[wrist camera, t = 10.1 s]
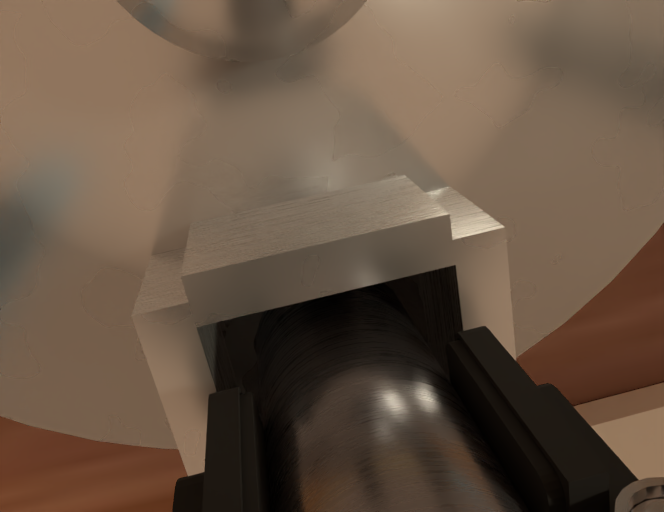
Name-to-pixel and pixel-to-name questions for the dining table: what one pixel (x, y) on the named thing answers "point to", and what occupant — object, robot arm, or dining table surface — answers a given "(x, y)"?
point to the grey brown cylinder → (367, 414)
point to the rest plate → (631, 428)
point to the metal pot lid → (303, 184)
